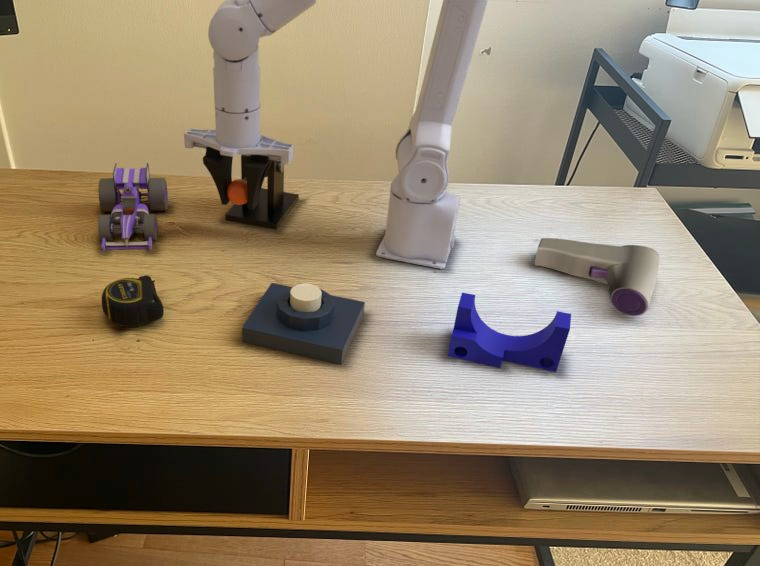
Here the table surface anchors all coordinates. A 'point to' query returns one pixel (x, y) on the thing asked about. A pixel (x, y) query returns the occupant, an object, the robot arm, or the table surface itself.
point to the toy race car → (130, 207)
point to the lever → (238, 191)
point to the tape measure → (132, 301)
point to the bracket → (266, 200)
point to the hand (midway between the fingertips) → (239, 204)
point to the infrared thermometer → (607, 269)
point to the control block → (304, 325)
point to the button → (305, 297)
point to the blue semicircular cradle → (506, 340)
